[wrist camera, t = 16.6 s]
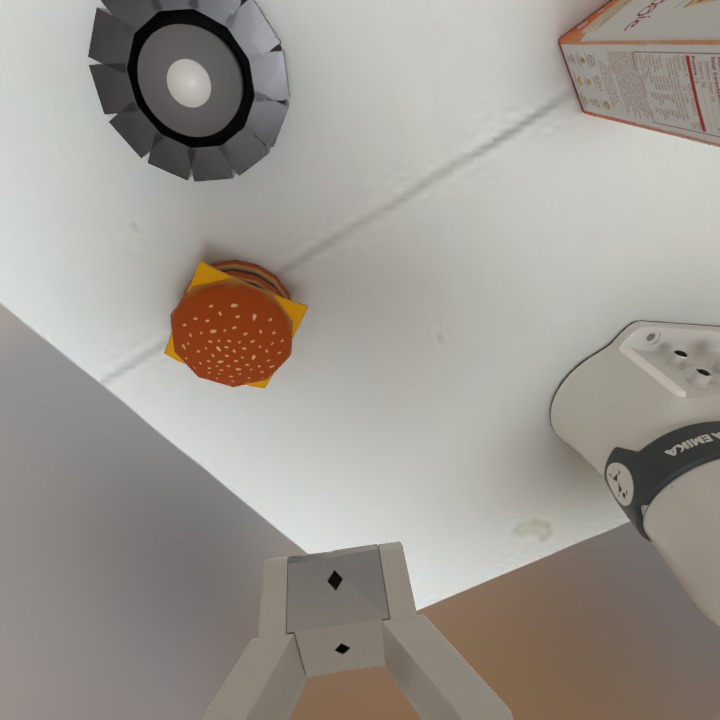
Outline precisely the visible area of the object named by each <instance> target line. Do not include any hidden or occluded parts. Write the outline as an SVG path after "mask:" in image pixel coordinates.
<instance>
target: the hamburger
mask: <svg viewBox="0 0 720 720" xmlns="http://www.w3.org/2000/svg"><path fill="white" fill-rule="evenodd" d="M307 308H308V305H304V304H300V303H296V302H293V301H291V300H290V298H289V294H288V293H287V291H286V290H285V288H284V287H283V286H282V284H281V283H280V281H279V280H278V279H277V277H276V276H274V275H273V274H271V273H270V272H268V271H266V270H265V269H263V268H262V267H260V266H259V265H255V264H250V263H246V262H241V261H237V260H234V261H227V262H220V263H214V264H212V265H211V266H210V265H208V264H206V263H205V262H203V261H201V260H200V261H199V264H198V266H197V269H196V271H195V274H194V277H193V279H192V281H191V282H190V284H189V285H188V287H187V288H186V290H185V292H184V296H183V298H182V300H181V301H180V303H179V305H178V306H177V307H176V308H175V310H174V311H173V312H172V313H171V324H172V334H171V336H170V339H169V341H168V344H167V347H166V349H165V352H164V353H165V354H167V355H168V356H170V357H172V358H174V359H176V360H177V361H180V362H182V363H185V364H187V365H188V366H189V367H190V368H191V370H192V371H193V372H194V373H195V374H196V375H197V376H198V377H201V378H204V379H208V380H211V381H215V382H218V383H222V384H225V385H228V386H232V387H235V386H240V385H245V384H246V385H249V386H254V387H261V388H265V387H266V385H267V384H268V382H269V380H270V379H271V377H272V375H273V373H274V372H275V371H276V370H277V369H278V368H279V367H280V366H281V365H282V364H283V363H284V362H285V361H286V360H287V359H288V358H289V356H290V355H291V350H292V338H293V336H294V334H295V332H296V330H297V328H298V326H299V324H300V322H301V320H302V318H303V316H304V314H305V312H306V310H307Z"/></svg>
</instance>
